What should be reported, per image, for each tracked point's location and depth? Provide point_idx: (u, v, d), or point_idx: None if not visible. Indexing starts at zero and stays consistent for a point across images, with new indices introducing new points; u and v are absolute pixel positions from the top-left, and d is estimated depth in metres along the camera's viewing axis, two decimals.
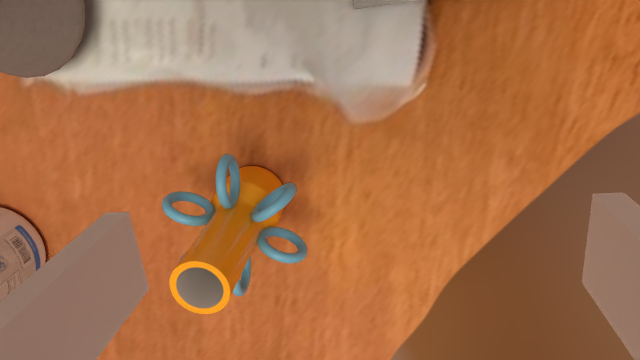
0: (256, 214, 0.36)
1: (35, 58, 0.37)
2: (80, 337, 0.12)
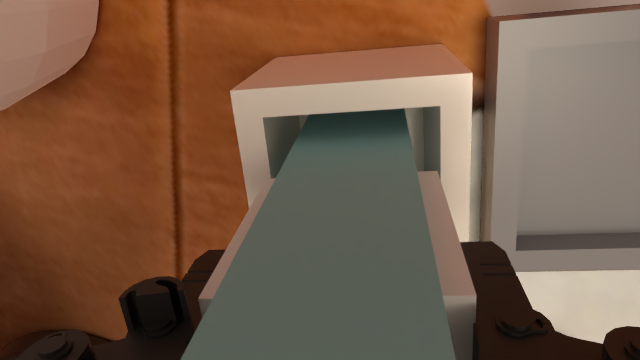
0: None
1: None
2: None
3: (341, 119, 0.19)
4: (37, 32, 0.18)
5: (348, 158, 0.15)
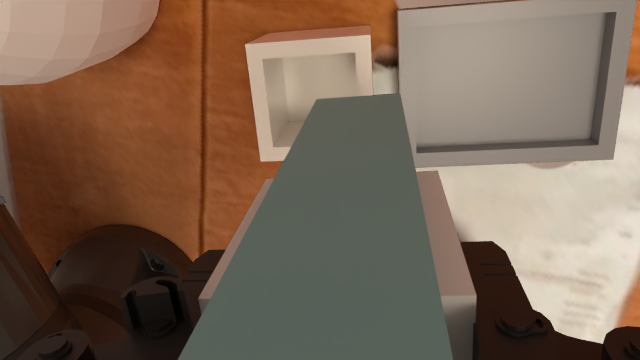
0: None
1: None
2: None
3: (340, 119, 0.19)
4: (135, 13, 0.33)
5: (347, 158, 0.15)
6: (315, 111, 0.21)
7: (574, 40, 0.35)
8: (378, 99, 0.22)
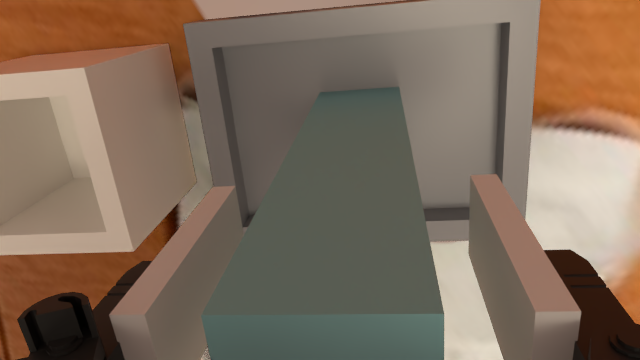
0: None
1: None
2: (211, 295, 0.13)
3: (343, 110, 0.21)
4: None
5: (350, 143, 0.16)
6: (319, 103, 0.22)
7: (457, 64, 0.23)
8: (378, 92, 0.23)
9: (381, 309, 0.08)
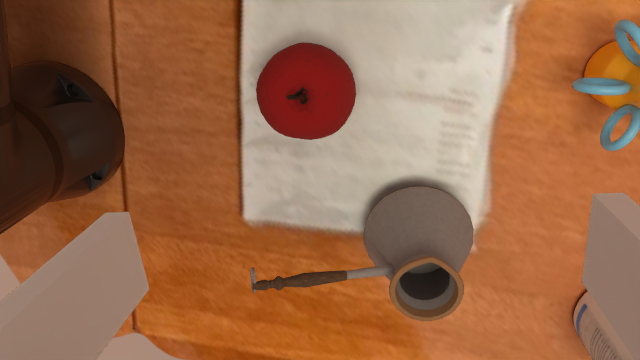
0: None
1: (462, 227, 0.48)
2: (80, 337, 0.12)
3: None
4: None
5: None
6: None
7: None
8: None
9: None
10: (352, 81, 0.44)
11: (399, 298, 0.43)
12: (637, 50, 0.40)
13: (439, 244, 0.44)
